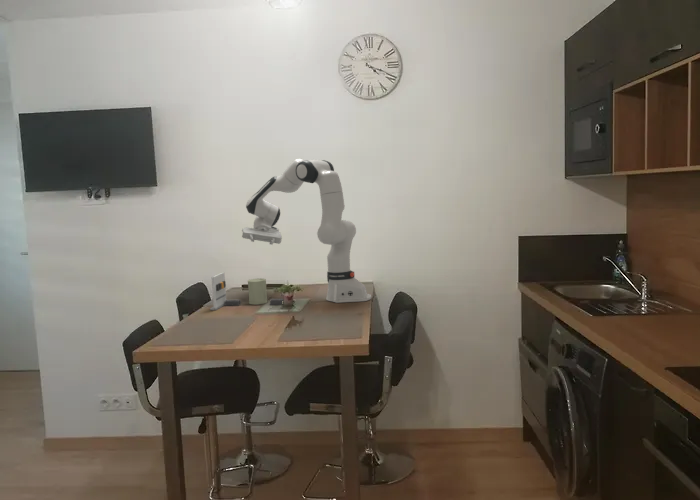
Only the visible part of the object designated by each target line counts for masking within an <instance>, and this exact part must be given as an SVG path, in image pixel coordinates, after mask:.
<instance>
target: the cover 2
mask: <svg viewBox="0 0 700 500" xmlns="http://www.w3.org/2000/svg"><path fill="white" fill-rule="evenodd" d="M269 299H270V300H269V305H270V306H282V305H281V304H282V301H284V299H283V298H269Z"/></svg>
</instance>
